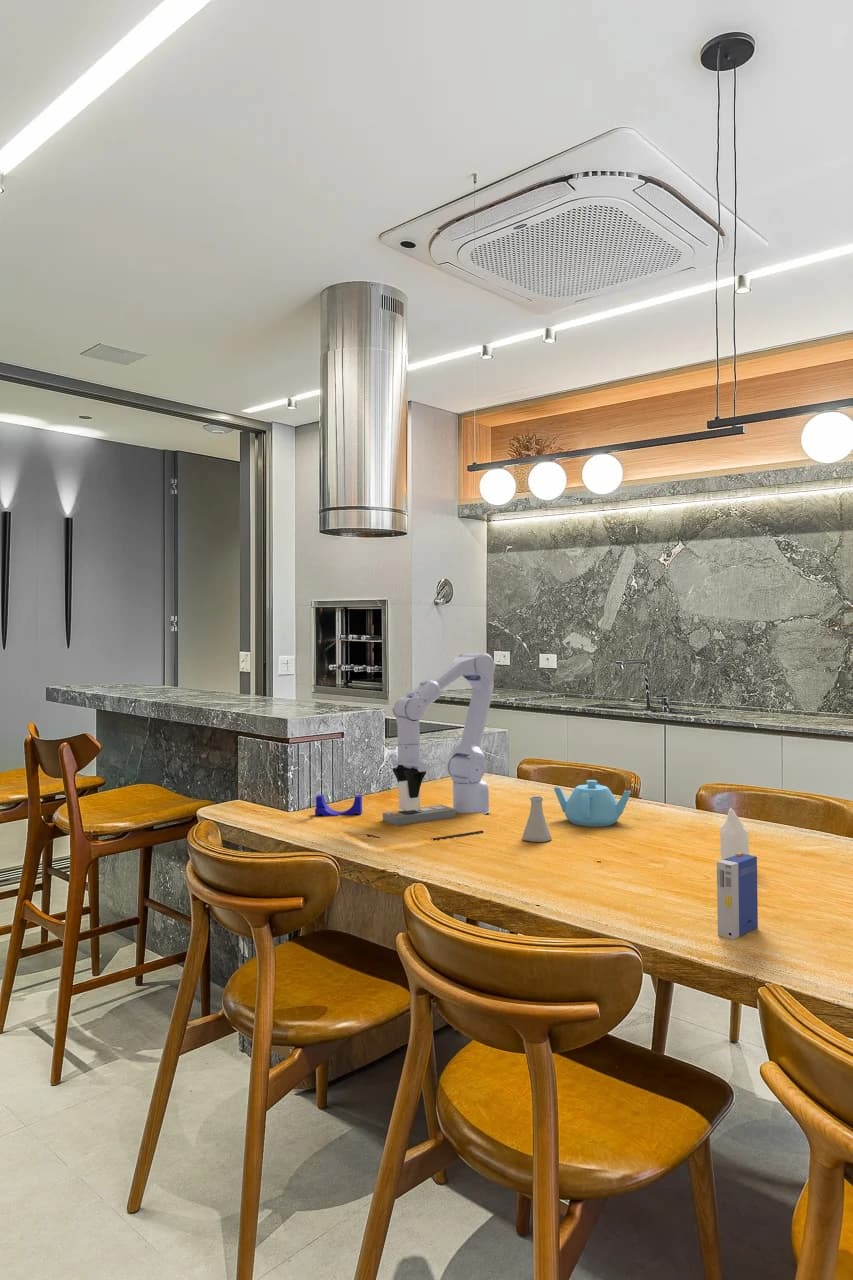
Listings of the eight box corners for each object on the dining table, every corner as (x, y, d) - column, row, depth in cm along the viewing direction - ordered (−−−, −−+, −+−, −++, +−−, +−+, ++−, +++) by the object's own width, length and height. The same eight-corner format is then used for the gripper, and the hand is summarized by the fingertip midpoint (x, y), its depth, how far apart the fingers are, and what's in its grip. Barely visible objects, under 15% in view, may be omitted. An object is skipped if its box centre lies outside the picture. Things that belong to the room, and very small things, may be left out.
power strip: (441, 816, 221) (441, 803, 221) (455, 820, 215) (455, 807, 215) (382, 824, 211) (382, 811, 211) (395, 829, 205) (395, 815, 205)
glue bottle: (753, 811, 165) (725, 811, 165) (754, 870, 165) (726, 870, 165) (742, 805, 171) (715, 805, 171) (743, 862, 171) (716, 862, 171)
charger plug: (412, 806, 214) (412, 779, 214) (420, 809, 211) (419, 781, 211) (399, 808, 212) (398, 781, 212) (406, 810, 209) (406, 783, 209)
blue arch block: (315, 820, 218) (314, 798, 218) (318, 817, 222) (318, 795, 222) (359, 820, 217) (359, 798, 217) (362, 817, 221) (362, 795, 221)
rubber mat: (461, 825, 209) (461, 823, 209) (483, 833, 200) (483, 831, 200) (413, 832, 202) (413, 830, 202) (435, 840, 193) (434, 838, 193)
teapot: (550, 818, 216) (550, 778, 216) (598, 813, 222) (597, 773, 222) (583, 830, 202) (583, 787, 202) (633, 824, 208) (633, 782, 208)
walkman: (742, 923, 135) (741, 851, 135) (758, 928, 132) (757, 854, 132) (716, 935, 129) (715, 859, 130) (732, 940, 127) (731, 863, 127)
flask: (555, 837, 195) (555, 795, 195) (547, 844, 189) (546, 801, 189) (527, 834, 198) (526, 793, 198) (517, 841, 192) (517, 798, 192)
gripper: (381, 742, 216) (382, 793, 216) (409, 747, 203) (410, 802, 203) (405, 740, 219) (405, 790, 219) (433, 745, 207) (434, 799, 207)
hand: (409, 796), depth 211 cm, fingers closed on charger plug, 4 cm apart
